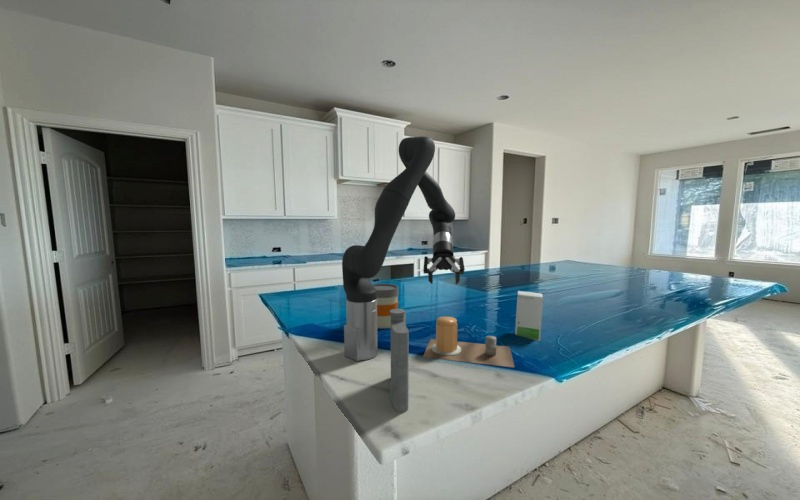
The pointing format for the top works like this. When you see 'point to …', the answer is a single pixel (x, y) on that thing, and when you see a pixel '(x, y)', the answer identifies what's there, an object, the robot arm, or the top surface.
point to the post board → (474, 353)
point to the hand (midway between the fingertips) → (444, 282)
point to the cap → (446, 334)
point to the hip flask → (399, 360)
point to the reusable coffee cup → (386, 303)
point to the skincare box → (529, 315)
